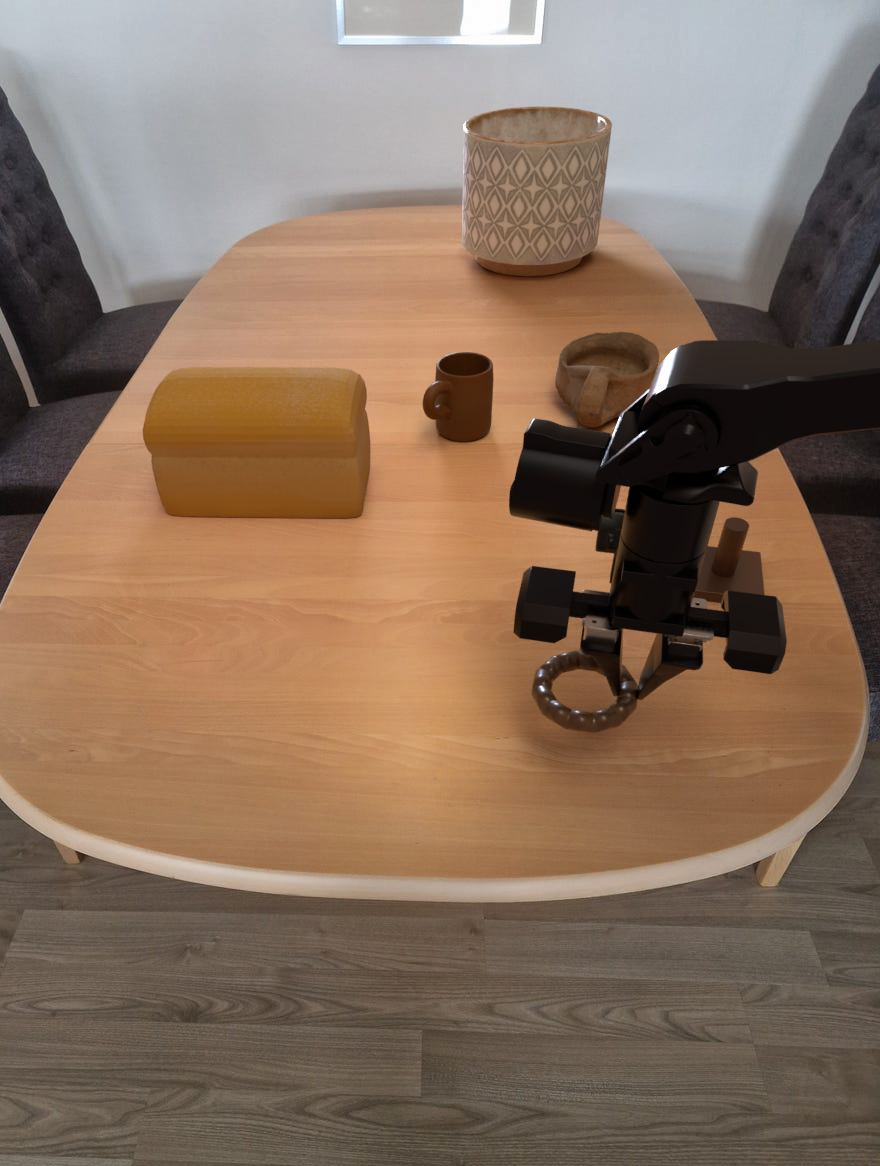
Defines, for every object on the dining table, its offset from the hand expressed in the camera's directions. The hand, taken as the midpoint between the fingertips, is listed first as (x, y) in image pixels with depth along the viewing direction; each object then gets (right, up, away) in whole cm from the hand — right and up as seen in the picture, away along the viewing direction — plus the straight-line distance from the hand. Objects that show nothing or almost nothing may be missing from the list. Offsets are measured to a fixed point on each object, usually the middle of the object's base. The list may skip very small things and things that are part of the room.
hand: (627, 694), depth 67 cm
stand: (+16, +11, +23) cm, 30 cm away
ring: (-3, 0, +1) cm, 3 cm away
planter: (+6, +78, +93) cm, 121 cm away
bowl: (+10, +36, +49) cm, 62 cm away
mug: (-11, +32, +46) cm, 57 cm away
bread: (-35, +23, +38) cm, 56 cm away
